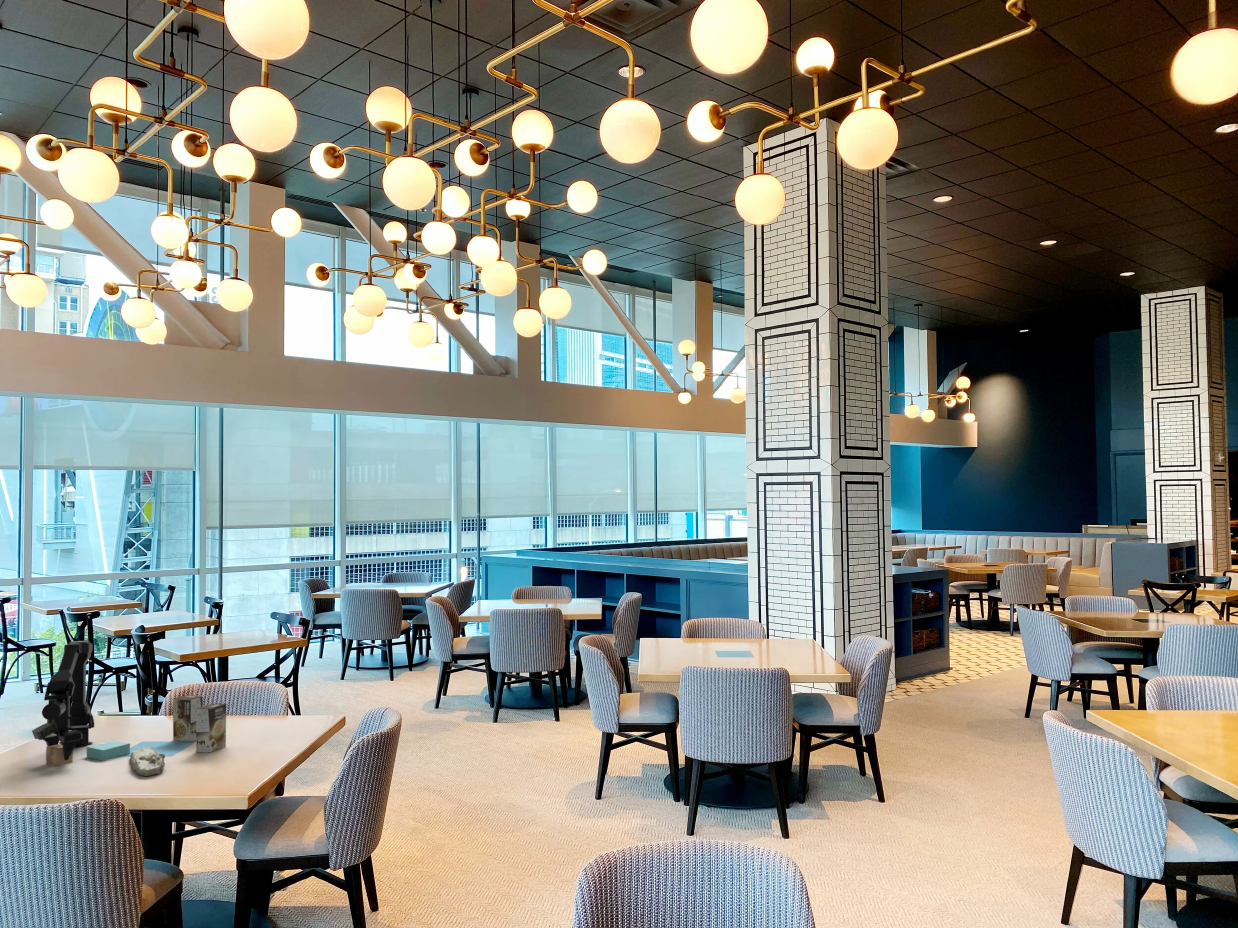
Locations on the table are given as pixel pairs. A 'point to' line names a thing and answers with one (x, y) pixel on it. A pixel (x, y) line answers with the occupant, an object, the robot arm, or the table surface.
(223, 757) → the table surface
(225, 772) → the table surface
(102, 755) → the teal plinth
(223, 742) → the coffee box
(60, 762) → the walnut block
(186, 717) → the coffee box
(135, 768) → the long grey stone
